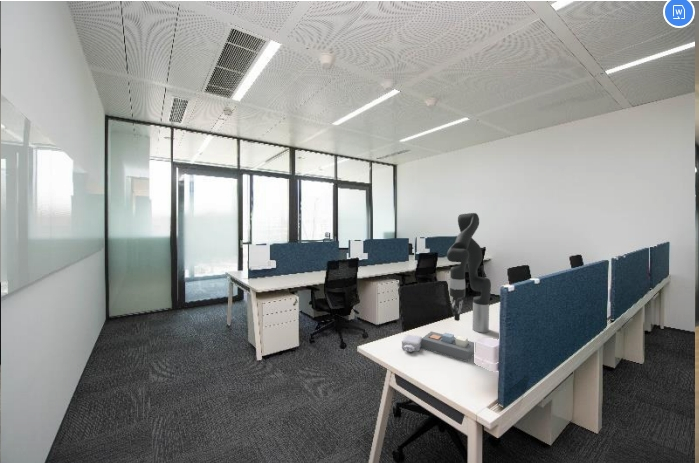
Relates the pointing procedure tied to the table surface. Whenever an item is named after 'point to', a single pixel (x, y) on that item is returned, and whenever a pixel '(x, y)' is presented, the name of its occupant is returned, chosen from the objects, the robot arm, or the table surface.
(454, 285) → the robot arm
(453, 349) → the keypad
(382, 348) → the table surface
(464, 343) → the key ivory
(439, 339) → the key terracotta
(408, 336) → the charger
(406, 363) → the table surface
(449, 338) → the light blue cube
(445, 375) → the table surface
